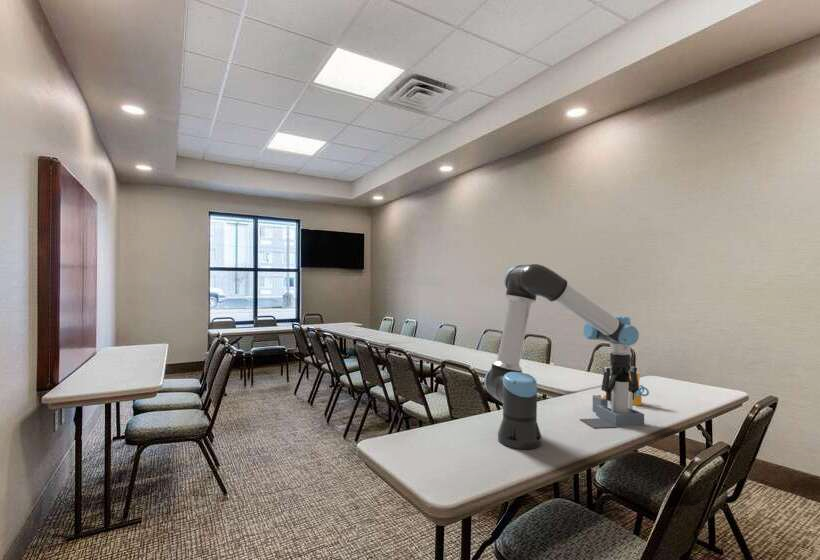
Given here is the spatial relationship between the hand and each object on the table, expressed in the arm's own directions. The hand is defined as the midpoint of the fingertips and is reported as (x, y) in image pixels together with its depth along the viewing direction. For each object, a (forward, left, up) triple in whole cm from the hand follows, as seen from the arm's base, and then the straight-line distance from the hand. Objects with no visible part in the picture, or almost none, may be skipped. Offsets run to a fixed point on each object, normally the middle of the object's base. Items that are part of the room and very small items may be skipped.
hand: (620, 407), depth 166 cm
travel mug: (0, 0, -5) cm, 5 cm away
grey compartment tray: (0, +4, -5) cm, 7 cm away
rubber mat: (-11, -2, -5) cm, 13 cm away
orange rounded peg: (0, +10, -5) cm, 11 cm away
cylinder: (+23, +22, -5) cm, 32 cm away
